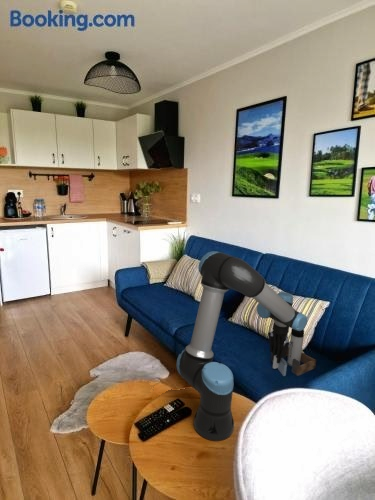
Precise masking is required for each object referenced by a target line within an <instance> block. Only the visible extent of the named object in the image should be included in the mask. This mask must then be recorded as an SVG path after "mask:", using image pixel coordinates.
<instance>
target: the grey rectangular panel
mask: <svg viewBox="0 0 375 500" xmlns="http://www.w3.org/2000/svg"><path fill="white" fill-rule="evenodd" d="M287 367H288V363H287V361H286V360H285V359H284V358H281V361H280V363H279V366H278V368H277V370H278V371H279V372H280V374H281V375H282V376H283V377H286V375H287Z"/></svg>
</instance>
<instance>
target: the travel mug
mask: <svg viewBox="0 0 375 500" xmlns="http://www.w3.org/2000/svg"><path fill="white" fill-rule="evenodd" d="M304 337H305V329H303V330H302V331H297V330H294V329H292V328H291V333H290V337H289V338H290V339H289V342H290V341H291V342H292V344H291V345H289V353H288V356H287V361H286V362H287V366H289V367H291V368H292V363H293V359H296V360H298V361H300V359H301V352H302V353H303V344H304V339H305V338H304ZM300 365H301V361H300V362H299V366H300Z"/></svg>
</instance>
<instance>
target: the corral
mask: <svg viewBox="0 0 375 500" xmlns="http://www.w3.org/2000/svg"><path fill="white" fill-rule="evenodd" d="M288 353H289V348H288V350H287V353H286V355H285V357H283V359H284V358H287V357H288ZM286 356H287V357H286ZM270 362H271V363H273V353H272V352H270ZM299 362H300V363H303V364H300V366H299ZM316 364H317V359H315V358H313V357H311V356H309V355H307V354H305V353H304V352H303V351H302V352H301V359H300V361H298V360H296V359H293V363H292V367H291V373H292V374H294V375H295V376H297V377H299V376H301V375H303V374H306V373H307V372H310V371H312V370H314V369H316V367H317V366H316Z"/></svg>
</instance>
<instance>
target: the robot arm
mask: <svg viewBox="0 0 375 500" xmlns="http://www.w3.org/2000/svg"><path fill="white" fill-rule="evenodd" d="M198 272H199V274H200V276H201V280H200V284H201V286H202V287H203V289H202V291H201V292H202V293H201V297H200V300H199V306H198V309H197V313H196V314H197V315H196V319H195V321H194V328H193V332H192V335H191V339H190V343H189V344H188V345H186V346H185V348H184V349H183V350H182V351H181V353H179V354H178V356H177V359H176V370H177V373H178V374H179V375H180V377H181V378H182V379H183V380H185V381H186V382H187V383H188V384H189V385H190V386H191V387H192V388H193V389H195V391H196V392H197V393H199V396H200V398H199V400H200V401H199V406H198V408H197V411H196V413H195V415H194V418H193V427H194V430H195V431H196V433H197V434H198V435H199V436H201V437H202V438H204V439H206V440H208V441H214V442H219V441H223V440H226V439H228V438H230V437H231V436H232V435H233V433H234V430H235V429H234V428H235V421H234V417H233V413H232V409H231V408H232V402H233V401H232V399H233V391H234V375H233V372H232V370H231V369H230V368H229V367H228V366H227V365H225V364H224V363H219V362H216V361H213V359H214V356H215V355H214V354H215V353H214V352H213V350H212V347H213V343H214V339H215V335H216V330H217V326H218V321H219V318H220V313H221V308H222V305H223V300H224V296H225V294H226V293H227V292H228V291H229V290H230V289H231V290H233V291H236V292H239V293H241V294H242V295H244V296H245V297H246V298H249V299H253V300H254V301H256V302H257V303H258V304H257V306H256V314H257V315H258V316H259V317H260V318H261V319H272V320H273V324H272V331H270V332H269V331H268V332H267V336H268V340H269V352H270V353H273V362H272V369H278V366H279V363H280V361H281V358H283V357H284V358H286V357H285V355H286V353H287V350H288V348H289V345H291V344H292V342H291V341H290V339H289V337H288V334H289V331H290V329H291V330H292V329H294V330H297V331H302V330H305V328H306V326H307V324H308V317H307V315H305V314H303V313H302V312H301V311H298V310H296V309H295V308H294V307H293V304H294V295H293V294H291V293H289V292H286V291H280V292H276V291H275V290H274V289H272V288H271V287H270V286H269V285H268V284H267V283H266V279H265V278H264V277H263V276H262V274H260V272H258V271H257V270H256V269H255V268H254V267H252V266H251V265H250V264H249V263H248V262H246V261H245V260H244V259H242V258H239V257H236V256H233V255H230V254H227V253H225V252H221V251H217V250H216V251H214V250H211V251H209V252H207V253H205V254H204V255H203V256H202V257H201V259H200V260H199V263H198ZM284 358H283V359H284Z"/></svg>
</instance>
